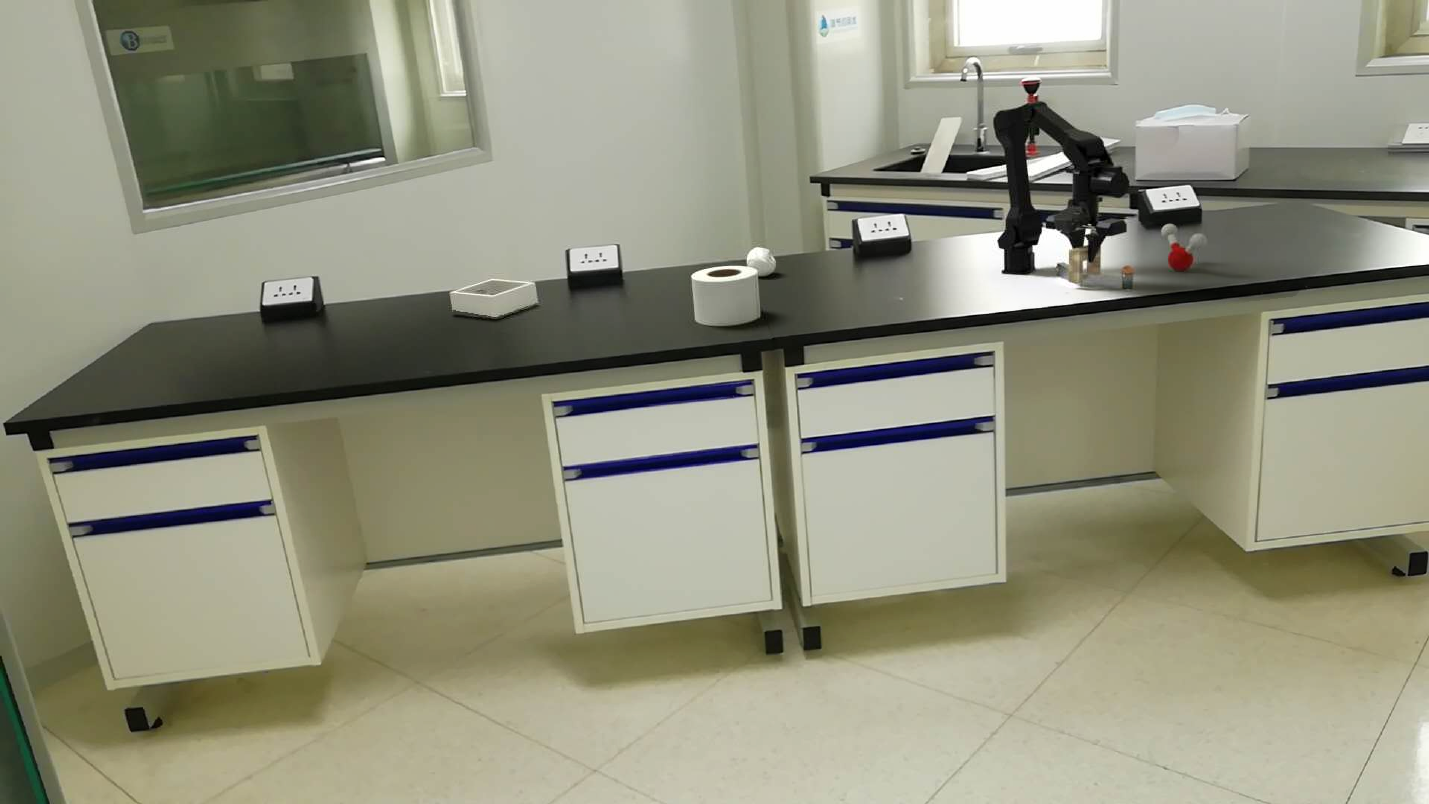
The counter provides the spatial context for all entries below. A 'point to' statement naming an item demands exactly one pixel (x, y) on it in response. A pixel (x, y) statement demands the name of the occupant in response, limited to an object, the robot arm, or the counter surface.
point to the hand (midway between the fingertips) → (1084, 261)
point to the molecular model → (1182, 248)
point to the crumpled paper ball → (761, 261)
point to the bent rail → (1100, 278)
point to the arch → (1077, 263)
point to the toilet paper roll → (726, 295)
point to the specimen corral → (494, 297)
